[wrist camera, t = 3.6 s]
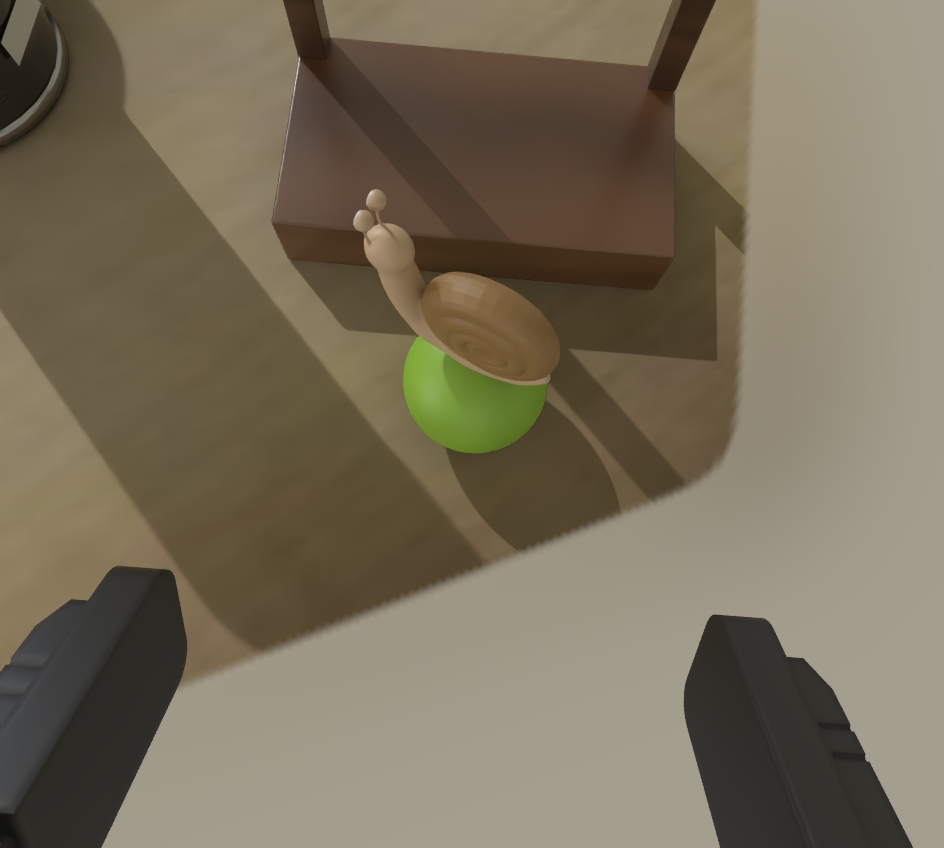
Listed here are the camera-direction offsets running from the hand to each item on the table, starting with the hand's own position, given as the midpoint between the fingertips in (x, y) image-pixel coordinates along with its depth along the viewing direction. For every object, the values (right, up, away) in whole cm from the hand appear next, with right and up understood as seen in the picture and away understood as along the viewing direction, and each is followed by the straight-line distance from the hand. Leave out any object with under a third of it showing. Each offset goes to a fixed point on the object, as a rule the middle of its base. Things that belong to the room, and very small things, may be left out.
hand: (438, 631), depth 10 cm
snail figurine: (0, +4, +18) cm, 19 cm away
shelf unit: (+1, +14, +21) cm, 25 cm away
